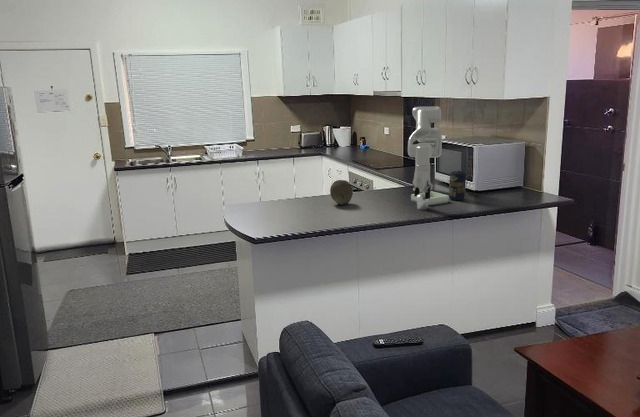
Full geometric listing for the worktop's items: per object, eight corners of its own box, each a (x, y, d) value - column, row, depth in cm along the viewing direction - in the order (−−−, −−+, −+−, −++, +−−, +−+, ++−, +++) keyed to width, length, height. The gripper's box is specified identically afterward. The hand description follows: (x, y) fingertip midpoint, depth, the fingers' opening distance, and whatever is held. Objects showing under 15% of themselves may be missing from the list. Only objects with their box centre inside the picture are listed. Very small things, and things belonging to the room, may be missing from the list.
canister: (445, 199, 320) (446, 170, 316) (455, 197, 326) (456, 168, 322) (458, 201, 313) (459, 172, 309) (468, 199, 319) (469, 170, 314)
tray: (411, 200, 320) (411, 194, 319) (431, 197, 327) (431, 191, 326) (427, 205, 306) (427, 199, 305) (448, 202, 313) (448, 195, 312)
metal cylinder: (414, 208, 301) (414, 194, 299) (423, 206, 304) (423, 193, 302) (421, 210, 296) (421, 196, 294) (429, 208, 298) (429, 195, 296)
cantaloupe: (357, 203, 318) (357, 179, 315) (345, 207, 307) (344, 183, 304) (337, 200, 326) (337, 177, 323) (325, 205, 315) (324, 181, 311)
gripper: (408, 166, 300) (407, 195, 304) (426, 170, 285) (426, 200, 288) (418, 165, 303) (418, 194, 307) (437, 168, 288) (437, 199, 292)
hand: (422, 197), depth 298 cm, fingers open, 9 cm apart
